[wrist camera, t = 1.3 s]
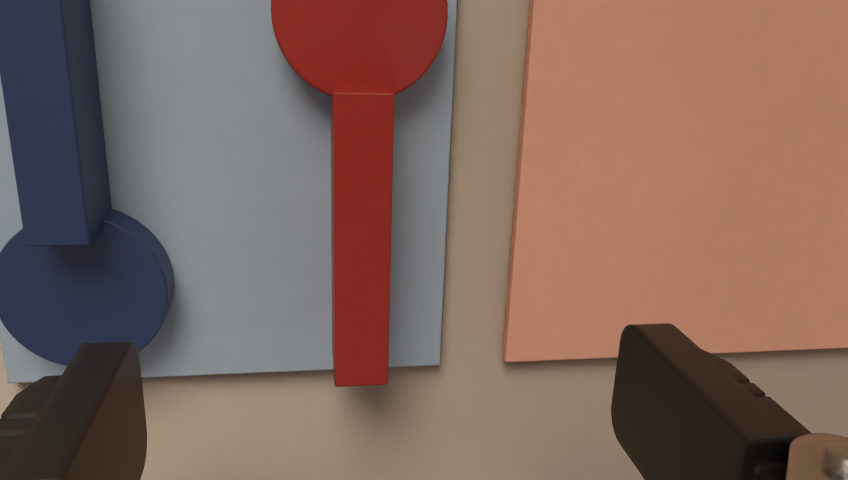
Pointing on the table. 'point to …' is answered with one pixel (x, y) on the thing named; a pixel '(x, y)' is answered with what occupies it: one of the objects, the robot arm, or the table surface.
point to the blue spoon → (69, 197)
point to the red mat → (681, 176)
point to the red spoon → (360, 149)
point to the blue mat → (248, 190)
